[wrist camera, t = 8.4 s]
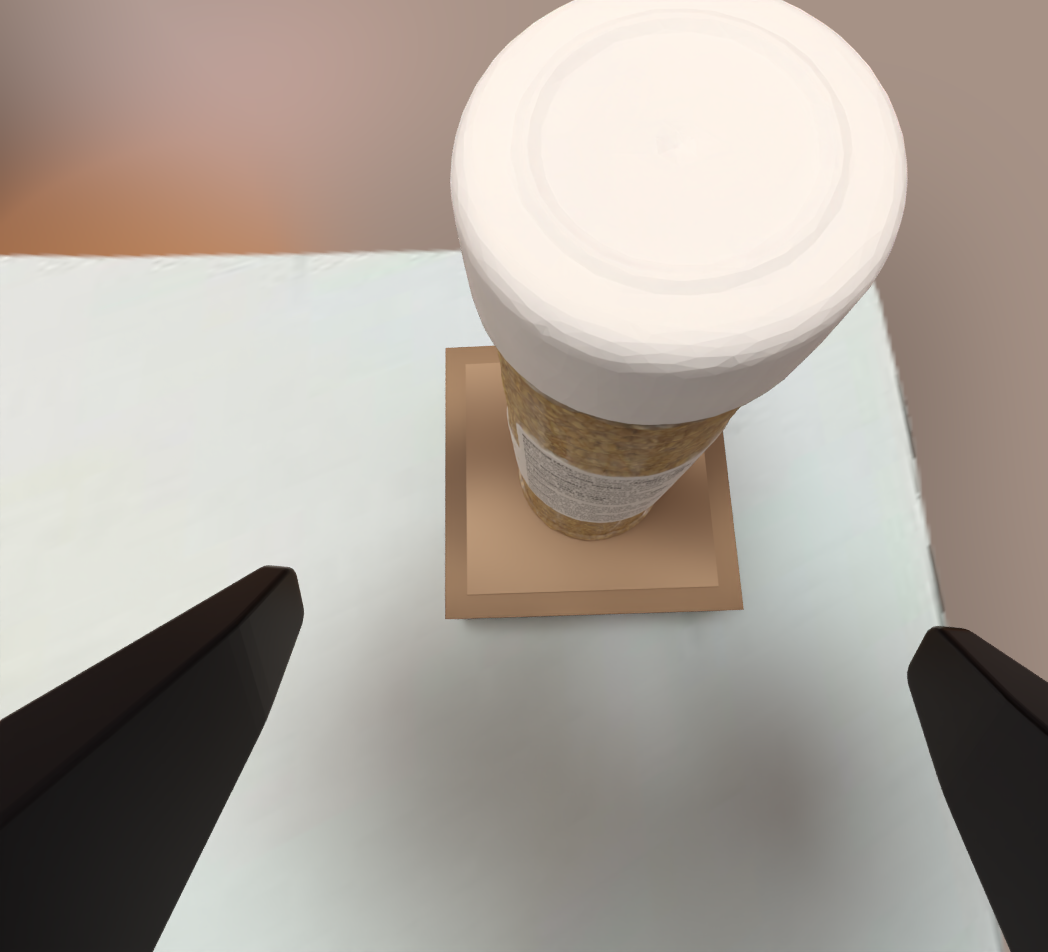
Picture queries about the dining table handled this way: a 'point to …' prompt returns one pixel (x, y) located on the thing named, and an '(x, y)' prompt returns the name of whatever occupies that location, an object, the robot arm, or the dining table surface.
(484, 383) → the walnut block
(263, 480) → the dining table surface
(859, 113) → the sprinkles bottle
